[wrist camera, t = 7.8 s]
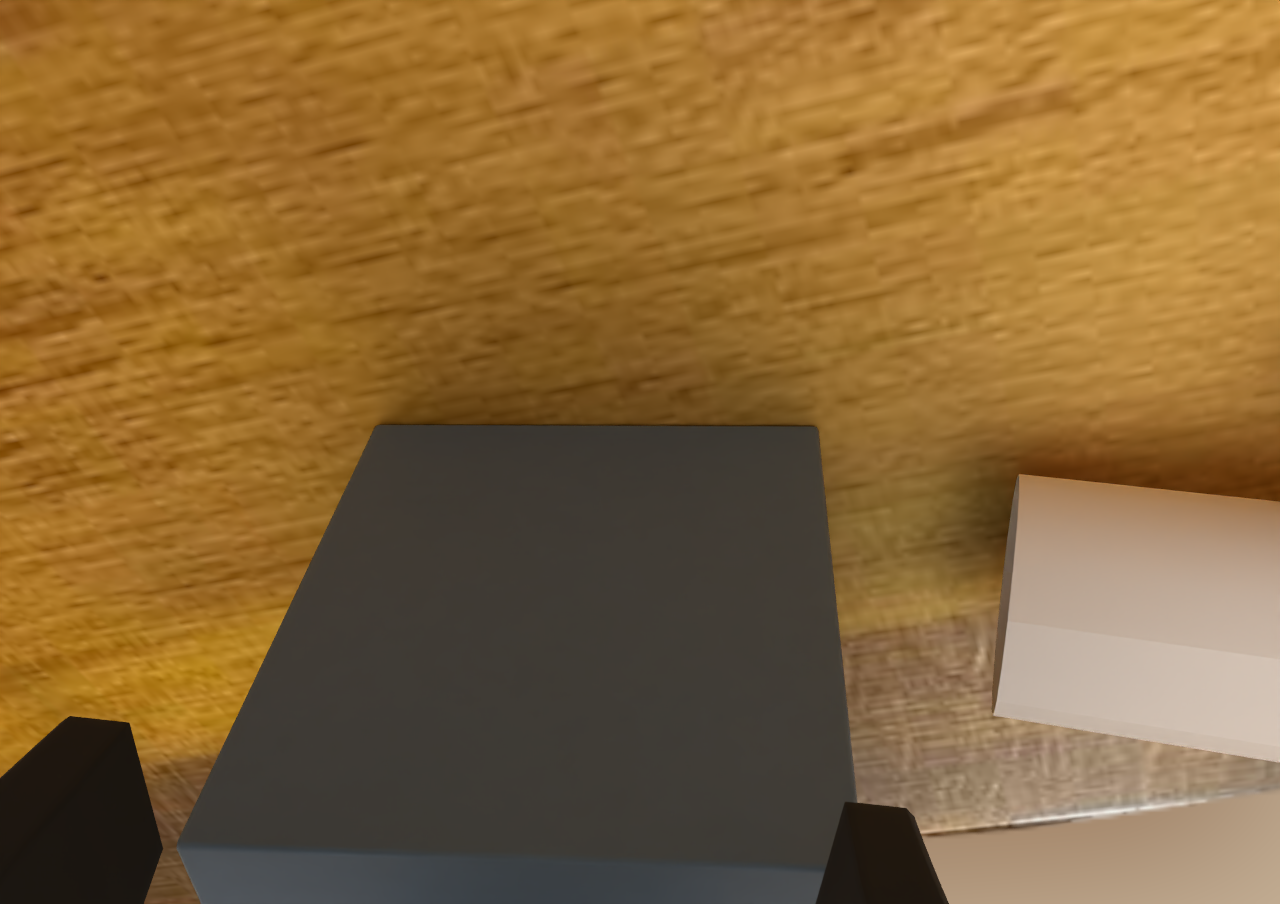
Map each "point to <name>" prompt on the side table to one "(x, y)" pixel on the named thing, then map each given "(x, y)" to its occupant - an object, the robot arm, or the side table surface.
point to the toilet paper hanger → (1142, 615)
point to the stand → (547, 680)
